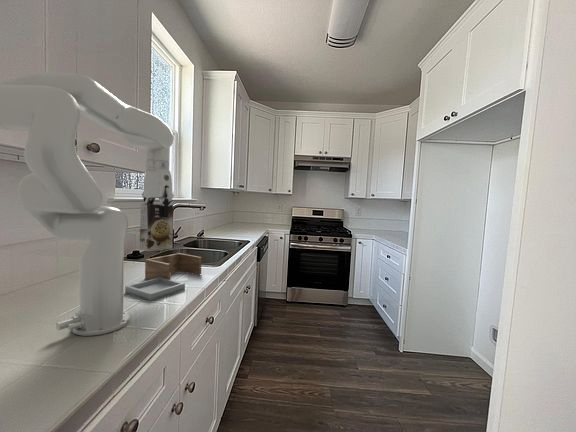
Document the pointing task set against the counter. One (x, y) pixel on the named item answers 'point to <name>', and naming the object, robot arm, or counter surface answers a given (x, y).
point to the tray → (154, 288)
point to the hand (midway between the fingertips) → (156, 216)
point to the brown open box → (172, 265)
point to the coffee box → (155, 228)
